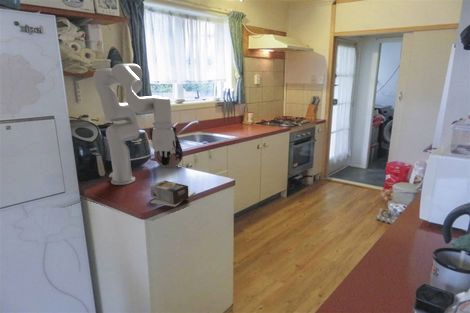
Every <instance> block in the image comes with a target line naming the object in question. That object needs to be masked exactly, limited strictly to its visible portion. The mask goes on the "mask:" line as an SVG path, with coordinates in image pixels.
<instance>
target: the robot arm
mask: <svg viewBox="0 0 470 313" xmlns="http://www.w3.org/2000/svg"><path fill="white" fill-rule="evenodd" d="M92 76H93V84H94V88H95V89H96V92H97V93H98V96H99V98H100V103H101V106H102V111H103V114H104V117H105V120H106V121H107V122H110V123H115V122H123V121H124V122H123V123H115V124H112V125H109V126H108V127H107V128H106V130H105V137H106V139H107V143H108V146H109V151H110V152H109V153H110V158H111V167H112V172H110V174H109V175H108V177H109V178H112V179H111V180H110V182H111V185H115V186H116V185H117V186H123V185H130V184H132V183H134V182H135V181H136V177H135V176H133V174H132V164H131V154H130V149H129V146H127V144H126V143H125V142H126V141H127V142H128V141H132V140H136V139H138V138H139V136H140V133H141V132H140V126H139V123H138V118H137V117H138V116H137V115H145V114H153V122H152V125H153V126H154V127H155V128H154V129H153V130H152V141H151V146H152V149H153V152H154V151H156V152H158V153H159V154H160V156H161V157H162V165H165V166H166V165H168V164H169V156H170V154H173V153H175V148H176V142H175V135H174V131H173V128H172V126H173V124H172V108H171V107H172V106H171V100H170V98H168V97H166V96H164V97H161V96H159V95H150V96H149V95H148V96H147V95H146V96H139V95H137V94H138V93H139V92H140V91H141V90H142V89H143V81H142V79H143V70H142V68H141V66H139V65H138V64H136V63H117V64H115V65H113V67H112V68H111V67H109V68H107V67H106V68H100V69H97V70H95V71H94V73H93V75H92ZM111 86H120V87H122V88H123V89H124V90H125V92H124V98H125V101H126V102H119V98H118V94H117V93H116V91H115V90H114V89H113V88H112V87H111Z"/></svg>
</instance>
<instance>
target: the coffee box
mask: <svg viewBox="0 0 470 313" xmlns="http://www.w3.org/2000/svg"><path fill="white" fill-rule="evenodd" d="M149 189H150V191H149V192H150V197H151V198H153V199H159V200H162V201H165V202H168V203H172V204H177V203H179V202H181V203H183V202H184V201H186V200H188V199H189V198H190V197H189V196H188V194H189V193H188V191H189V186H188V185H186V184H181V183H176V182H173V181H168V180H165V179H164V180H161V181H158V182H156V183H153V184H150V185H149ZM182 201H183V202H182Z"/></svg>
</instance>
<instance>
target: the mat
mask: <svg viewBox="0 0 470 313" xmlns="http://www.w3.org/2000/svg"><path fill="white" fill-rule="evenodd" d="M196 192H197V191H194V190H188V193H189V194H188V196H189V198H190V197H191V196H193V195H194V194H196ZM183 202H184V201H182V202H179V203H177V204H172V203H168V202H165V201H162V200H159V199H155V198H153V199H152V200H151V201H150V203H151V204H155V203H156V205H161V204H162V206H168V207H169V206H170V207H174V208H175V207H177V206H178V205H180V204H182V203H183Z"/></svg>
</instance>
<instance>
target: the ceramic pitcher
mask: <svg viewBox="0 0 470 313" xmlns="http://www.w3.org/2000/svg"><path fill="white" fill-rule="evenodd" d="M154 128H155V126H152V127H151V128H150V129H149V130H148V135H149V139H150V142H152V134H153V129H154ZM172 128H173V131H174V135H175V142H176V148H175V153H173V154H170V156H169V164H168V165H166V166H165V165H162V157H161V156H160V154H159V153H158V152H156V151H154V150H153V153H154V154H153V156H154V160H155V161H156V163H157V164H158V165H159V166H161V167H162V168H173V167H177V166H178V165H179V164H180V163H181V162H182V161H183V155H184V153H183V147H182V146H181V145H182V144H181V143H180V139H179V137H178V135H177V127H176V126H174V125H172Z"/></svg>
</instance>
